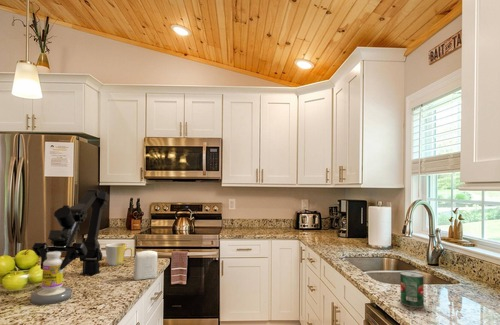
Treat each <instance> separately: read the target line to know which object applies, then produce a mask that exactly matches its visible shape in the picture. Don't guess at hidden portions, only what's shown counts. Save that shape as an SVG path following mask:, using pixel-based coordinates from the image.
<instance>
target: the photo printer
mask: <svg viewBox="0 0 500 325" xmlns="http://www.w3.org/2000/svg"><path fill="white" fill-rule="evenodd" d="M133 268H134V269H133V280H135V281H140V280H141V281H142V280H148V279H155V278H157V274H158V251H154V250H141V251H138V252H137V253H135V256H134V266H133Z"/></svg>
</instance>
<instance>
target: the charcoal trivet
mask: <svg viewBox="0 0 500 325" xmlns="http://www.w3.org/2000/svg"><path fill="white" fill-rule="evenodd" d="M29 298H30V299H29V301H30V302H29V303H30V304H31V305H34V306H36V305H37V306H48V305H49V306H50V305H56V304H59V303H64V302H65V301H68V300H70V299H71V298H72V287H70V286H63V285H62V286H61V287H60V288H58V289H54V290H44V289H42V288H40V289H37V290H35V291H33V292H31V293H30V297H29Z"/></svg>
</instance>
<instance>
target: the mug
mask: <svg viewBox="0 0 500 325" xmlns="http://www.w3.org/2000/svg"><path fill="white" fill-rule="evenodd" d="M126 250H130V251H131V252H130V253H131V254H130V257H127V258H125V254H126ZM105 255H106V263H107V264H108V265H109V266H111V267H113V266H114V267H116V266H120V265H122V264H123V262H124V261H129V260H132V259H133V255H134V249H133V247H130V246H129V247H127V243H124V242H113V243H107V244H105Z"/></svg>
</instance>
